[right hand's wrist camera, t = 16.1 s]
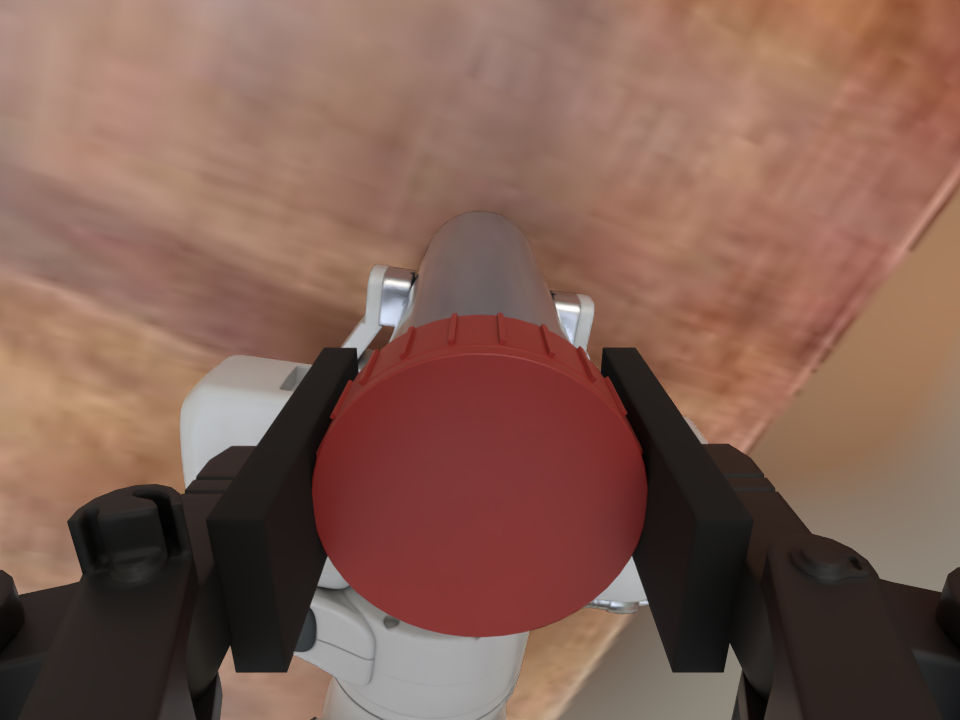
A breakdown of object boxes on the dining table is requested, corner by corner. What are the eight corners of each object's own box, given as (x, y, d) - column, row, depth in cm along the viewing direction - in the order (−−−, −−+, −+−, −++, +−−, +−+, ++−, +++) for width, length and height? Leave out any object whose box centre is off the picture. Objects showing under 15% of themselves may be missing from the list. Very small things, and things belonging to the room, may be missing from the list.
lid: (370, 583, 13) (352, 658, 12) (300, 334, 11) (263, 377, 9) (634, 549, 13) (660, 621, 11) (613, 287, 11) (641, 321, 9)
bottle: (425, 318, 29) (346, 602, 12) (424, 210, 27) (327, 360, 10) (532, 320, 29) (607, 606, 12) (537, 212, 27) (636, 366, 10)
